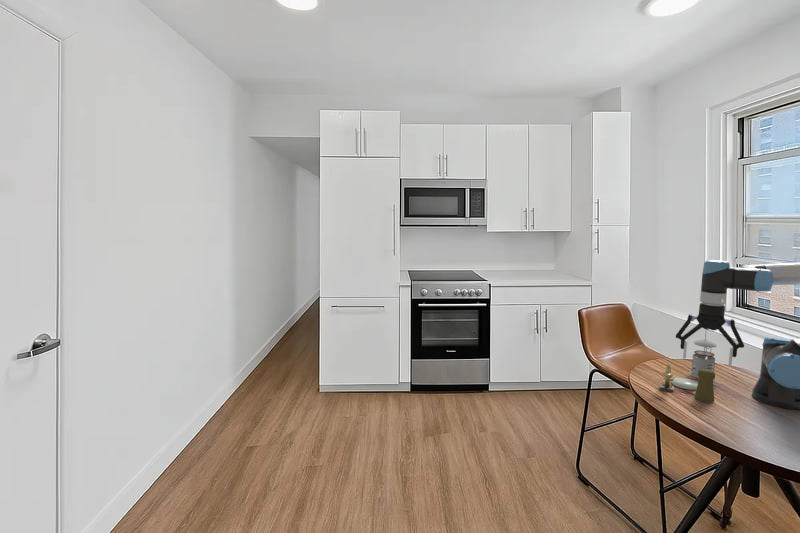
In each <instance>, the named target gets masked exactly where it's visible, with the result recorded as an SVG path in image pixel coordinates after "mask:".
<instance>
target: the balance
mask: <svg viewBox="0 0 800 533" xmlns="http://www.w3.org/2000/svg"><path fill="white" fill-rule="evenodd" d="M661 375H662V376H663V377H662V379H663V380H664V383H660V386H659V390H662V391H666V392H670V393H674V391H675V386H674V385H671V382H672V381H674V378H675V377H674V373H672V366H671V365H670V364H669V363H667V364H666V365H665V371H663V372H661Z"/></svg>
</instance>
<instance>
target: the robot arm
mask: <svg viewBox="0 0 800 533" xmlns="http://www.w3.org/2000/svg"><path fill="white" fill-rule="evenodd" d="M701 273H702V275H701V285H700V295H699V297H700V298H699V301H700V303H699V307H698V315H693V314H692V313H689V314H688V315H687V319H686V321H685V322H684V323H683V325H682V326H681V327H680V328H679V330H678V331H677V333H676V334H675V338H676V339H679V340H680V349H681V350H683V356H682V358H683V359H684V360H686V358H687V348H688V340H687V339H689V338H690V337H691V336H692V335H694V334H695V333H696V332H698V331H699V330H700V329H704V330H711V331H719V333H720V334H721V335H722V336H723V337H724V339H726V341H727V342H728V343H729V344H730V345H731V346H729V357H728V367H732V364H733V358H736V357H737V356H738V355H737V354H738V349H740V348H745V343H744V342H743V338H741V336H740V334H739V331H738V329H737V327H736V325H735V324H736V322H735V319H734V318H731V319H725V312H726V306H725V305H726V302H727V290H728V289H730V290H742V291H751V292H758V293H759V292H766V293H767V292H770V291H771V290H772V289H773V286H782V285H784V286H788V285H789V286H791V285H800V262H790V263H786V262H785V263H766V264H746V263H745V264H741V265H738V267H732V266H731V265H730V262H729V261H727V260H726V261H725V260H718V259H716V260H715V259H711V260H706V261H704V263H703V267H702V272H701ZM695 320H696V321H697V322H698V324H697V325H695V326H694V327H693V328H691V329H690V330H688V332H686V333H685V334H683V333H684V332H685V330H686V329H687V328H688V327H689V325H690V324H691V322H694V321H695ZM725 324H727V326H729V327H730V328H731V332H733V335H734V338H735V339H736V341H737V342H735V341H734V339H733V338H732V337H731V335H730V334H729V333H728V332H727V331H726V329H724V327H723V325H725ZM682 334H683V335H682ZM761 352H762V354H761V361H760V362H761V363H760V372H759V373H760V375H759V377H758V379H757V381H756V383H754V386H753V388H752V393H751V397H752V398H753V399H754V400H757V401H758V402H761V403H763V404H766V405H770V406H773V407H777V408H782V409H790V410H800V338H792V339H791V338H785V337H777V336H767V337H764V338H763V343H762V351H761Z"/></svg>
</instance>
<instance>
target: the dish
mask: <svg viewBox="0 0 800 533" xmlns="http://www.w3.org/2000/svg"><path fill="white" fill-rule="evenodd" d="M673 378H674V381H671V384H672V386H674V387H676V388H679V389H682V390H687V391H696V389H697V385H698V381H697V380H695V379H691V378H687V377H686V378H684V377H673Z"/></svg>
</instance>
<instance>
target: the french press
mask: <svg viewBox="0 0 800 533" xmlns="http://www.w3.org/2000/svg"><path fill="white" fill-rule="evenodd" d="M693 344H694V345H695V346H699V347H703V348H704V349H703V350H700V349H699V350H697V349H696V350H694V351H693V353H694V354H692V361H691V362H692V363H691V370H690V371H689V372H688V375H689V376H691V377H693V378H697V379H699V376H698V371H699V370H700V369H708V370H712V371H713V372H714V373H715V364H716V358H715V353H714V352H712V348H717V346H718V345H717V344H716V343H714V342H713V341H712V340H709V339H707V332H705V334H704V339H698V340H695V341H693ZM709 349H710V351H707V350H709ZM706 357H707V358H706ZM716 379H717V376H716V375H715V378H714V380H716Z"/></svg>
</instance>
